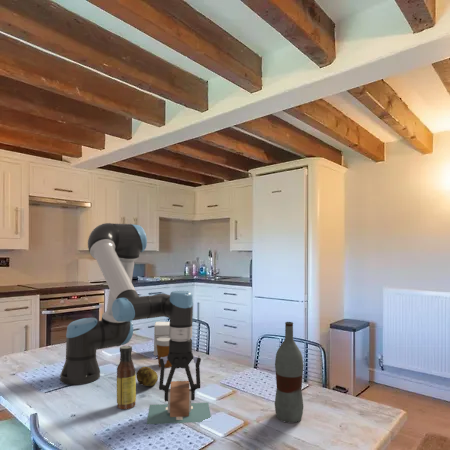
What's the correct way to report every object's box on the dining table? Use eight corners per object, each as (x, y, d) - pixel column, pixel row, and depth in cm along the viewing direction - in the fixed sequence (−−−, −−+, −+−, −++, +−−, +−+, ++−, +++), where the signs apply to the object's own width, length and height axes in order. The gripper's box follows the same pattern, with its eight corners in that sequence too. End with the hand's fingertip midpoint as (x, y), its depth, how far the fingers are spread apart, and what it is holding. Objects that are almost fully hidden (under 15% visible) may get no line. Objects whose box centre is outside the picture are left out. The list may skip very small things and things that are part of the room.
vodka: (308, 421, 117) (308, 324, 119) (282, 425, 115) (282, 326, 116) (295, 409, 126) (295, 319, 128) (269, 412, 124) (270, 320, 125)
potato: (166, 382, 150) (166, 361, 150) (147, 393, 138) (147, 371, 138) (148, 378, 153) (149, 359, 154) (128, 389, 141) (129, 368, 142)
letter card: (146, 424, 114) (146, 424, 114) (149, 405, 128) (149, 404, 128) (211, 421, 116) (211, 421, 117) (208, 403, 130) (208, 402, 130)
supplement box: (154, 350, 194) (155, 321, 194) (172, 350, 195) (172, 321, 195) (153, 356, 185) (154, 325, 185) (171, 355, 186) (172, 325, 186)
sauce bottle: (139, 404, 129) (140, 345, 130) (128, 411, 123) (130, 350, 124) (122, 401, 131) (124, 343, 132) (112, 408, 125) (113, 348, 126)
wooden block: (169, 417, 119) (170, 388, 119) (170, 408, 125) (170, 381, 125) (188, 416, 120) (189, 387, 120) (188, 408, 126) (188, 380, 126)
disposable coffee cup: (174, 369, 165) (175, 341, 166) (153, 369, 165) (153, 341, 166) (177, 362, 175) (178, 336, 175) (157, 362, 175) (157, 336, 176)
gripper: (150, 342, 119) (148, 417, 117) (210, 341, 121) (209, 414, 120) (152, 336, 126) (150, 406, 125) (208, 335, 128) (207, 404, 127)
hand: (179, 410), depth 122 cm, fingers closed on wooden block, 6 cm apart
